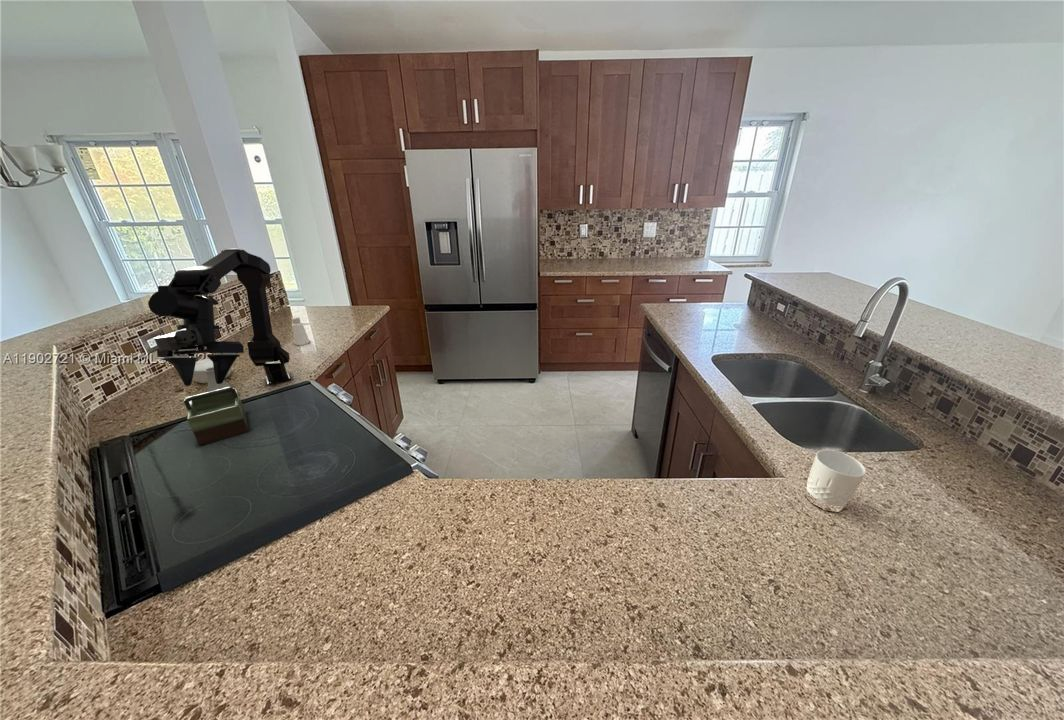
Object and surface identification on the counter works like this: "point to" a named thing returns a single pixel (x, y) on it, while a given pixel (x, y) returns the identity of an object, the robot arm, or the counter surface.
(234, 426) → the bottom basket
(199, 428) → the top basket
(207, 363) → the ramekin
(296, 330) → the pepper shaker
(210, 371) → the flask
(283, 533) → the counter surface
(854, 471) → the white cup
